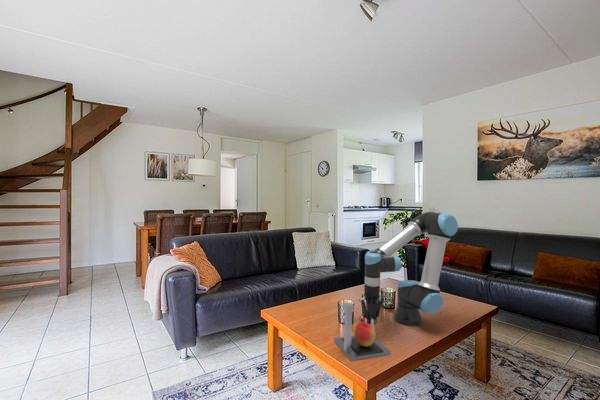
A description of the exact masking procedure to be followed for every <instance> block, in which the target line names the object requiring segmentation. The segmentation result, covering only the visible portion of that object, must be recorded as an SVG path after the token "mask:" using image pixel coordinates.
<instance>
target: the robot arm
mask: <svg viewBox="0 0 600 400" xmlns="http://www.w3.org/2000/svg"><path fill="white" fill-rule="evenodd" d="M458 228H459V223H458V221H457V219H456V217H455V216H454V215H452V214H451V213H446V212H433V211H427V212H423V213H421V214H419V215H418V216H416V217H414V218H413V219H411V220H410V221H408V223H407V225H406V226H404V228H402V229H401V230H399V231H398V232H397V233H395V235H393V236H392V237H390V238H389V239H388V240H387V241H385V242H384V243H383V244H381V245H380V246H379V247H377V248H376V249H375V250H374V251H373V250H369V251H366V253H365V255H364V286H363V287H364V288H363V289H364V290H363V291H364V294H363V297H362V298H359V299H358V300H359V302H360V303H361V309H362V315H363V316H364V317H365V320H366V323H368V324H370V325H372V326H373V328H374V326H375V325H376V320H377V318H379V317H380V313H381V309H382V306H383V305H382V304H383V302H384V300H385V299H384V298H383V297H381V295H380V293H381V286H380V285H381V273H395V272H399V271H400V270H401V269H402V268H403V267H402V264H403V263H402V260H401V258H400V257H399V256H392V255H394V254H395V253H396V252H398V251H399V250H400V249H401V248H402V247H404V246H405V245H406V244H408V243H409V242H410V241H412V240H413V239H414V238H415V237H417V236H418V237H419V236H421V235H422V234H426V233H427V234H426V235H427V237H428V238H429V239H428V240H429V241H428V244H427V245H428V246H427V250H426V254H425V259H424V264H423V268H422V274H421V280H420V281H418V280H410V279H407V280H406V279H404V280H399V281H398V283H397V302H396V303H397V304H396V305H397V306H396V309H395V312H394V314H393V320H394V321H395V322H397V323H398V324H401V325H404V324H405V326H409V325H416V326H419V325H418V324H420V323H421V324H422V316H421V312H423V313H426V314H428V315H434V314H437V313H438V312H439V311H440V310H441V309H442V307H443V304H444V298H443V295H441V294H440V293H441V289H440V287H439V282H440V276H441V273H442V272H441V271H442V266H443V261H444V255H445V252H446V247H447V243H448V242H449V241H451V239H452V236H455V235H456V233H457V232H458V230H459V229H458ZM420 311H421V312H420ZM421 324H420V325H421ZM374 329H375V328H374Z"/></svg>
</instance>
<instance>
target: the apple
mask: <svg viewBox="0 0 600 400" xmlns="http://www.w3.org/2000/svg"><path fill="white" fill-rule="evenodd" d="M353 333H354V335H353V336H355V339H356V341H357V342H358V343H359V344H360V345H361V346H363V347H369V346H371V345H372V344H373V343H374V341H375V339H377V333H376V330H375V328H373V326H372V325H370V324H368V323H367V322H365V323H362V322H360V323H359V322H358V323H357V324H356V325H355V328H354V332H353Z"/></svg>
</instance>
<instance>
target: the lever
mask: <svg viewBox="0 0 600 400" xmlns="http://www.w3.org/2000/svg"><path fill="white" fill-rule="evenodd" d="M358 321H359V322H358V323H360V322H362V323H366V318H365V317H364V316H363V314H361V315H359V317H358Z"/></svg>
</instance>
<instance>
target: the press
mask: <svg viewBox="0 0 600 400" xmlns="http://www.w3.org/2000/svg"><path fill="white" fill-rule="evenodd" d="M342 306H343V307H342V309H343V311H344V329H343V330H344V333H343V336H340V337H334V338H333V339H334V340H333V341H334V342H333V343H335V344H336V345H337V347H338V348H339V349H340V350H341V351H342V352H343V353H344V354H345V356H346V357H347V358H348V359H349V360H350V362H352V361H359V360H365V359H370V358H371V359H372V358H377V357H383V356H384V355H385V356H389V355H388V354H391V353H392V351H391V350H390V349H388V347H387V346H385V345H384V344H383V343H382V342H380V341H379V340H378V339H377V338H376V339H375V341H374V343H373V344H372V345H371V346H369V347H363V346H361V345H360V344H359V343H358V342H357V341H356V339H355V335H352V333H353V332H352V330H353V329H352V328H353V313H355V304H353V303H352V302H345V303H344V302H343V304H342ZM391 355H392V354H391Z"/></svg>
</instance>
